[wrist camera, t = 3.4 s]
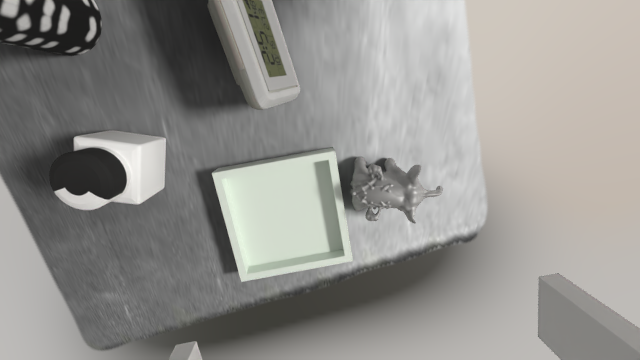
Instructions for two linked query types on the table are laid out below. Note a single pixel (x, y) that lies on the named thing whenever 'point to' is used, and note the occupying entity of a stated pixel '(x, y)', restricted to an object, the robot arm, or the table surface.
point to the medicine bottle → (109, 169)
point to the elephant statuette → (387, 189)
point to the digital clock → (255, 51)
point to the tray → (284, 213)
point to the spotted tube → (50, 25)
